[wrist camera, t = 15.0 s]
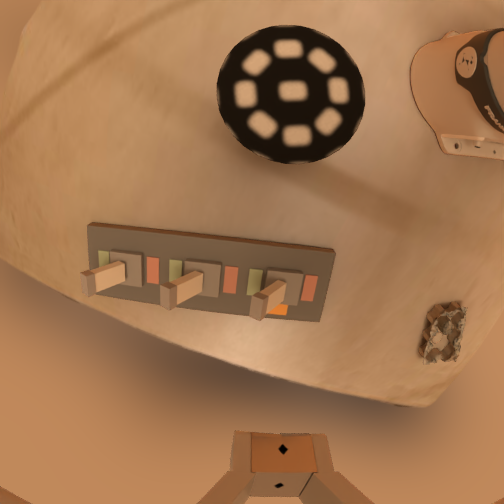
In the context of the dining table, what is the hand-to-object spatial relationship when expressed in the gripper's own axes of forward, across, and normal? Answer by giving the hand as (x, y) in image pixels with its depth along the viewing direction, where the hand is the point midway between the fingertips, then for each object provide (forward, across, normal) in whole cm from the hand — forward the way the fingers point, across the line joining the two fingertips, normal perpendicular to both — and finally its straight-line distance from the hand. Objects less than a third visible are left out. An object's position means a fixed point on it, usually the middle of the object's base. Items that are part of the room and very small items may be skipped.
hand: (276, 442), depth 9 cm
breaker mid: (+29, +6, +8) cm, 30 cm away
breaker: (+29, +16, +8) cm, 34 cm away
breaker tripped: (+29, -4, +8) cm, 30 cm away
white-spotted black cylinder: (+31, 0, -12) cm, 34 cm away
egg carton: (+32, -32, +14) cm, 47 cm away
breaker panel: (+31, +6, +8) cm, 33 cm away
